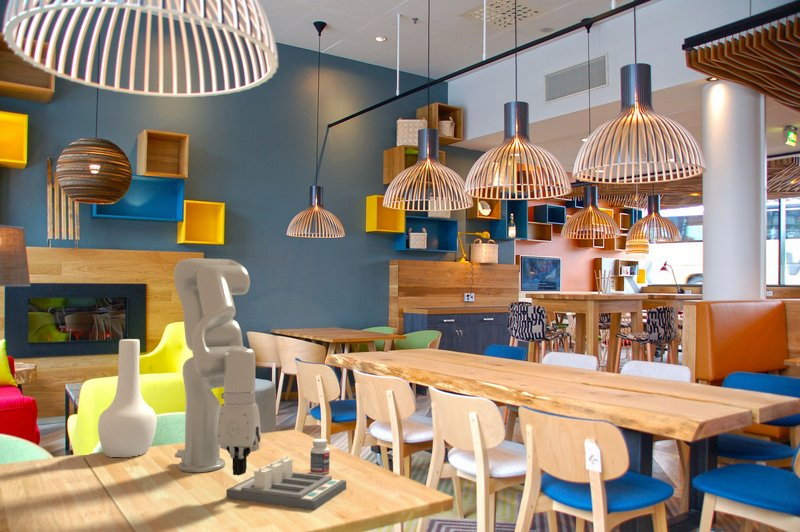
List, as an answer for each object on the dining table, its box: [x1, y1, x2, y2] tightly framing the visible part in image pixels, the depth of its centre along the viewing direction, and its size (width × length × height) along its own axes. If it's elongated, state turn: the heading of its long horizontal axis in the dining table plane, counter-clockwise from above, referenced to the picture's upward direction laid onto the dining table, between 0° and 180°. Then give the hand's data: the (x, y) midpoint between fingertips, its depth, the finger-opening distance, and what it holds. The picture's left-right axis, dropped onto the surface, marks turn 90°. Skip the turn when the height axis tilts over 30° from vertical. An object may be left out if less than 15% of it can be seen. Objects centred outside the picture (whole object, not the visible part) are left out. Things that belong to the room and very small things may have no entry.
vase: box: [97, 338, 158, 458], centre depth 195 cm, size 17×17×35 cm
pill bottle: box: [309, 438, 331, 476], centre depth 175 cm, size 5×5×9 cm
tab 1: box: [253, 465, 272, 489], centre depth 154 cm, size 3×3×5 cm
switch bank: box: [225, 471, 347, 511], centre depth 157 cm, size 24×17×3 cm
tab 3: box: [276, 455, 293, 478], centre depth 163 cm, size 3×3×5 cm
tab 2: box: [265, 460, 282, 483], centre depth 158 cm, size 3×3×5 cm
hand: (239, 473), depth 156 cm, fingers closed
